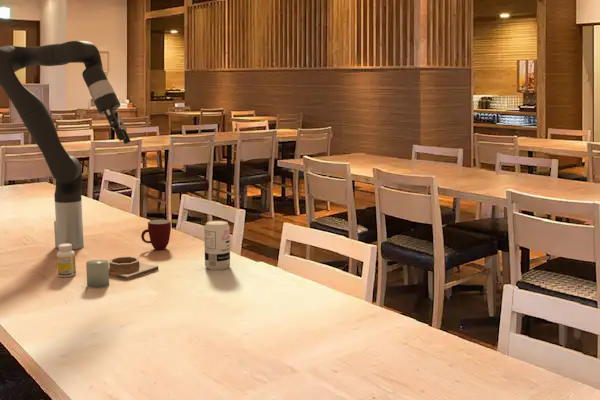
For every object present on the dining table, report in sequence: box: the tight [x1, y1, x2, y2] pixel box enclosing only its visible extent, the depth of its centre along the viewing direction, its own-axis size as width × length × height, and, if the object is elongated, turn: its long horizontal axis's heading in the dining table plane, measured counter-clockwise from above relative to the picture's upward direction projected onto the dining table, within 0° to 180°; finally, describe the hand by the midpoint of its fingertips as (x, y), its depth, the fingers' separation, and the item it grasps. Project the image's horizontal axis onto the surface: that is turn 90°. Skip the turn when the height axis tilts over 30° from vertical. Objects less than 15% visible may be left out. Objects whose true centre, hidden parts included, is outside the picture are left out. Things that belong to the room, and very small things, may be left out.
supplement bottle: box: [56, 243, 77, 278], centre depth 221 cm, size 5×5×10 cm
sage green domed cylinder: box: [85, 259, 110, 289], centre depth 211 cm, size 6×6×7 cm
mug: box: [141, 219, 172, 251], centre depth 254 cm, size 11×8×10 cm
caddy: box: [108, 255, 159, 281], centre depth 226 cm, size 16×14×4 cm
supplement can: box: [203, 220, 231, 271], centre depth 231 cm, size 8×8×15 cm
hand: (125, 141), depth 231 cm, fingers open, 8 cm apart
